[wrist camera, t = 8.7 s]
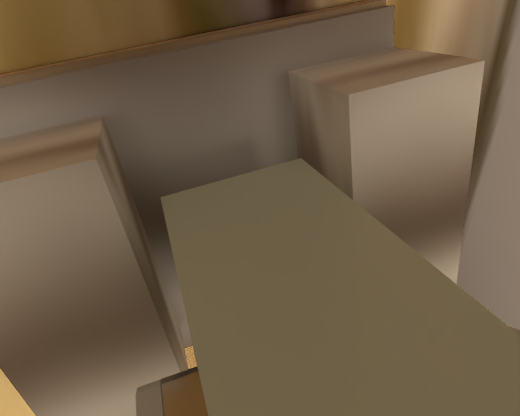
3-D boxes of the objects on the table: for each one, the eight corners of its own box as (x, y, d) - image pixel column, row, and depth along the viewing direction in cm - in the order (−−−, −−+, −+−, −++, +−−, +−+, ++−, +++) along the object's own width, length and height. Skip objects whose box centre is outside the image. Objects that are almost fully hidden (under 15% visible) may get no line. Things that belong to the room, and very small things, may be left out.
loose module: (160, 197, 10) (243, 573, 3) (300, 158, 11) (597, 397, 4) (211, 357, 13) (309, 723, 6) (318, 317, 14) (506, 605, 7)
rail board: (-53, 85, 11) (-172, 139, 7) (369, -1, 14) (493, -5, 9) (96, 356, 17) (88, 484, 13) (373, 260, 20) (449, 335, 15)
